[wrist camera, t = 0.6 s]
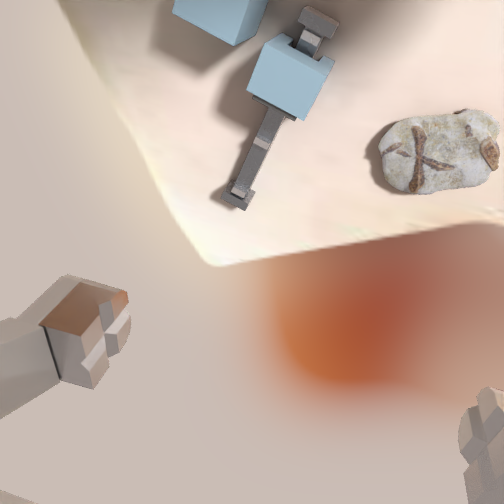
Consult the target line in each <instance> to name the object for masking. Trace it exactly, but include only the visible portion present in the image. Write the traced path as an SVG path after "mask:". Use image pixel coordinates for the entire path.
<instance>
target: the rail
mask: <svg viewBox="0 0 504 504" xmlns="http://www.w3.org/2000/svg"><path fill="white" fill-rule="evenodd" d="M298 22H300V23H301V24H303V25H305V28H304V30H303V33H302V35H301V37H300V39H299V41H298V44H297V46H296V48H295V49H296V50H298V51H300V52H302V53H303V54H305V55H307V56H309V57H311V58H313V59H314V57H315V55H316V53H317V51H318V48H319V46H320V44H321V42H322V40H323V38H324V36H325V37H327V38H329V39H331V38H332V36H333V35H334V33H335V31H336V29H337V27H338V25H339V23H340V22H338V21H336V20H334V19H332V18H331V17H329V16H327V15H325V14H323V13H321V12H320V11H318V10H316V9H314V8H312V7H311V6H306V7H304V8H303V9H302V11H301V14H300V16H299V18H298ZM284 119H285V116H284V115H282V114H280V113H278V112H276V111H274V110H272V109H271V108H268V111H267V113H266V115H265V117H264V119H263V122H262V124H261V126H260V128H259V131H258V133H257V135H256V137H255V140H254V142H253V144H252V146H251V148H250V151H249V153H248V155H247V157H246V160H245V162H244V164H243V166H242V169H241V171H240V173H239V175H238V177H237V180H236V181H234V180H231V182H230V183H229V184H228V186H227V187H226V188H225V190H224V191H223V194H222V196H221V199H223V200H225V201H227V202H229V203H231V204H232V205H234V206H236V207H238V208H240V209H242V210H244V211H245V210H246V209H247V207H248V205H249V203H250V202H251V200H252V198H253V196H254V194H255V191H253V190H251V187H252V185H253V183H254V181H255V179H256V177H257V174H258V172H259V170H260V168H261V166H262V164H263V162H264V160H265V158H266V156H267V154H268V152H269V150H270V148H271V146H272V143H273V141H274V139H275V137H276V135H277V133H278V131H279V129H280V127H281V125H282V123H283V121H284Z"/></svg>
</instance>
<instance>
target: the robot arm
mask: <svg viewBox="0 0 504 504" xmlns="http://www.w3.org/2000/svg"><path fill="white" fill-rule="evenodd" d="M127 304H128V296H127V292H125V291H124V290H121V289H117V288H114V287H110V286H107V285H104V284H101V283H97V282H94V281H90V280H87V279H83V278H79V277H76V276H72V275H69V274H67V275H65V276H62V277H60V278H59V279H58V280H57V281H56V282H55V283H54V284H53V285H52V286H51V287H50V288H49V289H47V290H46V291H45V292H44V293H43V294H42V295H41V296H40V297H39V298H38V299H37V300H36V301H35V302H34V303H33V304H31V305H30V307H28V308H27V309H26V310H25V311H24V312H23V313H22V314H21V315H20V316H19V317H18V318H17V319H14V318H7V319H5V320H2V321H0V419H2V418H3V417H5V416H6V415H8V414H10V413H11V412H13V411H15V410H16V409H18V408H19V407H21V406H23V405H24V404H26V403H28V402H29V401H31V400H32V399H34V398H36V397H37V396H39V395H40V394H42V393H44V392H45V391H47V390H49V389H50V388H52V387H53V386H55V385H57V384H58V383H60V380H61V381H65V382H68V383H72V384H75V385H79V386H82V387H86V388H89V389H94V388H95V386H96V385H97V384H98V382H99V381H100V379H101V378H102V376H103V375H104V373H105V372H106V370H107V369H108V368H109V360H108V358H109V357H111V356H113V355H115V354H117V353H119V352H120V351H121V349H122V348H123V346H124V344H125V343H126V340H127V338H128V335H129V333H130V327H131V318H130V315H129V313H128V312H127V311H126V310H125V309H124V308H125V306H126V305H127ZM477 401H478V405H477V406H474V407H471V408H468V409H467V410H466V412H465V413H464V415H463V417H462V418H461V422H460V427H459V436H458V437H459V439H458V441H459V448H460V453H461V454H462V455H463V457H464V458H465V459H466V461H467V462H468V463H469V467H468V468H467V469H466V471H465V472H464V479H465V485H466V490H467V496H468V502H469V504H504V391H503V390H499V389H495V388H491V387H486V388H484V389H482V390H481V391H480V393H479V394H478V395H477ZM0 504H37V503H34V502H31V501H29V500H26V499H23V498H21V497H18V496H15V495H12V494H10V493H7V492H5V491H2V490H0Z"/></svg>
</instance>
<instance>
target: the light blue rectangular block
mask: <svg viewBox="0 0 504 504" xmlns="http://www.w3.org/2000/svg"><path fill="white" fill-rule="evenodd" d="M293 40H294V39H293V38H291V37H289V36H287V35H285V34H284V33H281V34H279V35H278V36H276V37H274V38H273V39H271V40H269V41H268V42H266V43H265V44H264V46H263V49H262V51H261V54H260V56H259V59H258V61H257V64H256V66H255V69H254V71H253V74H252V76H251V79H250V81H249V84H248V86H247V89H246V90H247V91H249V92H251V93H253V94H254V95H253V97H252V99H254V100H256V101H257V102H259V103H261V104H263V105H265V106H267V107H269V108H271V109H272V110H274V111H276V112H278V113H280V114H282V115H284V116H285V117H287V118H289V119H291V120H293V121H295V120H296V118H299V119H301V120H303V121H304V120H305V118H306V116H307V114H308V112H309V110H310V109H311V107H312V105H313V103H314V101H315V99H316V97H317V95H318V93H319V91H320V89H321V88H322V86H323V84H324V82H325V80H326V78H327V76H328V74H329V72H330V70H331V68H332V66H333V64H334V63H335V61H333V60H331V59H330V58H328V57H326V56H324V55H323V57H322V58H321V59H320V61H319V62H318V61H316V60H314V59H313V58H311V57H309V56H307V55H305V54H303V53H302V52H300V51H298V50H296V49H294V48H292V47H291V44H292V42H293Z"/></svg>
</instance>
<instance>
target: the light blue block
mask: <svg viewBox="0 0 504 504" xmlns="http://www.w3.org/2000/svg"><path fill="white" fill-rule="evenodd" d="M267 3H268V0H175V2H174V6H173V10H172V13H173V14H175V15H177V16H178V17H180V18H182V19H184V20H186V21H188V22H190V23H191V24H193V25H195V26H197V27H199V28H201V29H202V30H204V31H206V32H208V33H210V34H212V35H214V36H215V37H217V38H219V39H221V40H223V41H225V42H227V43H228V44H230V45H232V46H235V45H237V44H239V43H241V42H243V41H245V40H247V39H249V38H251V37H253V36H255V35H256V32H257V29H258V27H259V24H260V21H261V19H262V16H263V14H264V11H265V8H266V6H267Z"/></svg>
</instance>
